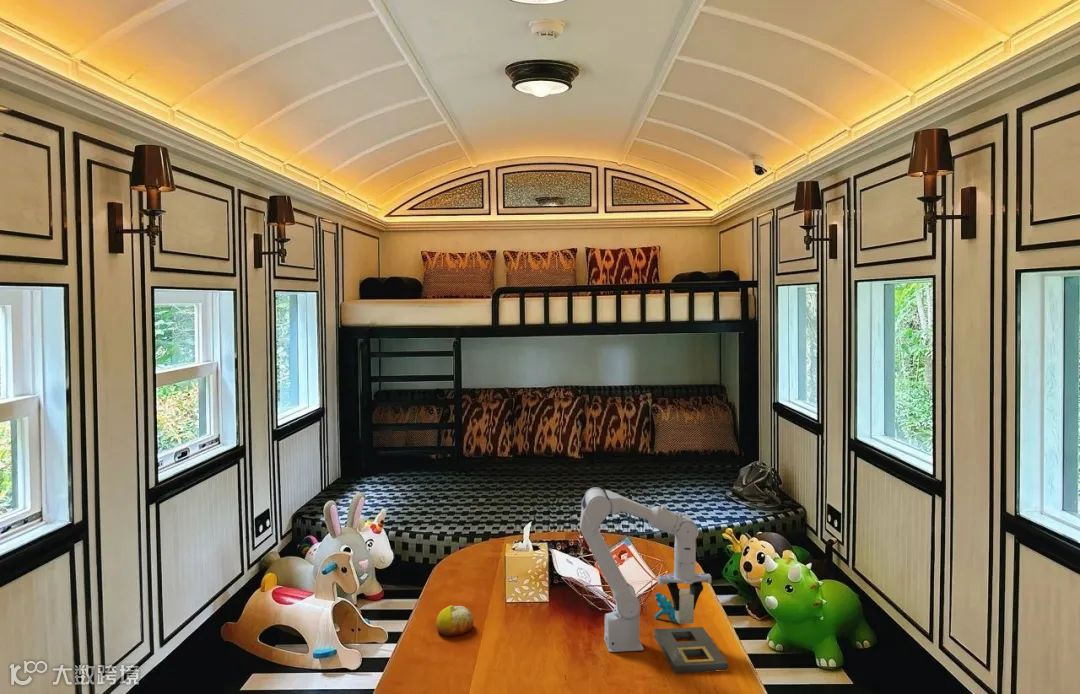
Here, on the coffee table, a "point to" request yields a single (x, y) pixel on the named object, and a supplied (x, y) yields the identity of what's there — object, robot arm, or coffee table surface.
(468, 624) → the fruit
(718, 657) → the hole plate
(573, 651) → the coffee table surface
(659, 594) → the teal lobed piece
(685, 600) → the steel peg
